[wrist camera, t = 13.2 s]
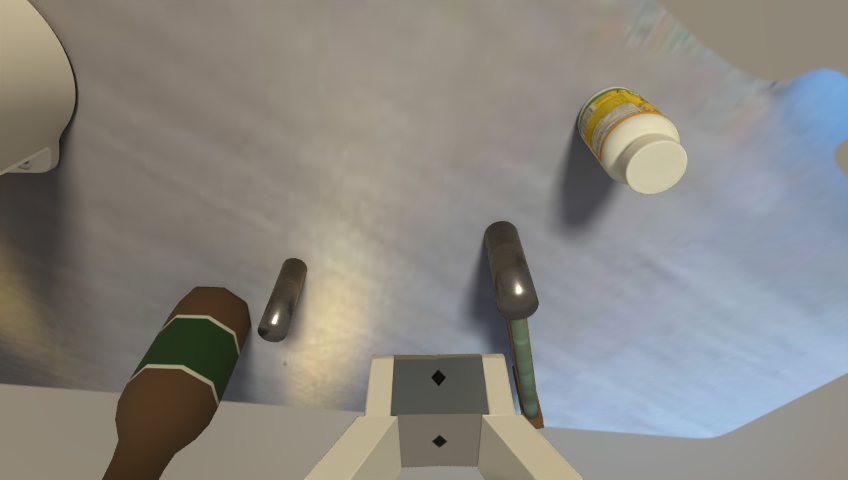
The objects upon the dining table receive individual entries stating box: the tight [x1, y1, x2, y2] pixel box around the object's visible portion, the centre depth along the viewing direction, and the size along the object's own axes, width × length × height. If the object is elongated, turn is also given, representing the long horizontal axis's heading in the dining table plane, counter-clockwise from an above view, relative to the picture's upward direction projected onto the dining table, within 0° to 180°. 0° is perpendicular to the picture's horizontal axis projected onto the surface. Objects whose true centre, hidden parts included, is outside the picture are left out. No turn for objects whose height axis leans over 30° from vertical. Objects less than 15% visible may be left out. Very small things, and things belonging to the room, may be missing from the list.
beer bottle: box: [102, 287, 251, 480], centre depth 42 cm, size 8×8×24 cm
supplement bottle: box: [578, 87, 687, 194], centre depth 36 cm, size 5×5×10 cm
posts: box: [258, 221, 539, 342], centre depth 43 cm, size 24×3×10 cm, turn 101°
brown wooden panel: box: [506, 318, 544, 429], centre depth 48 cm, size 17×2×7 cm, turn 12°
